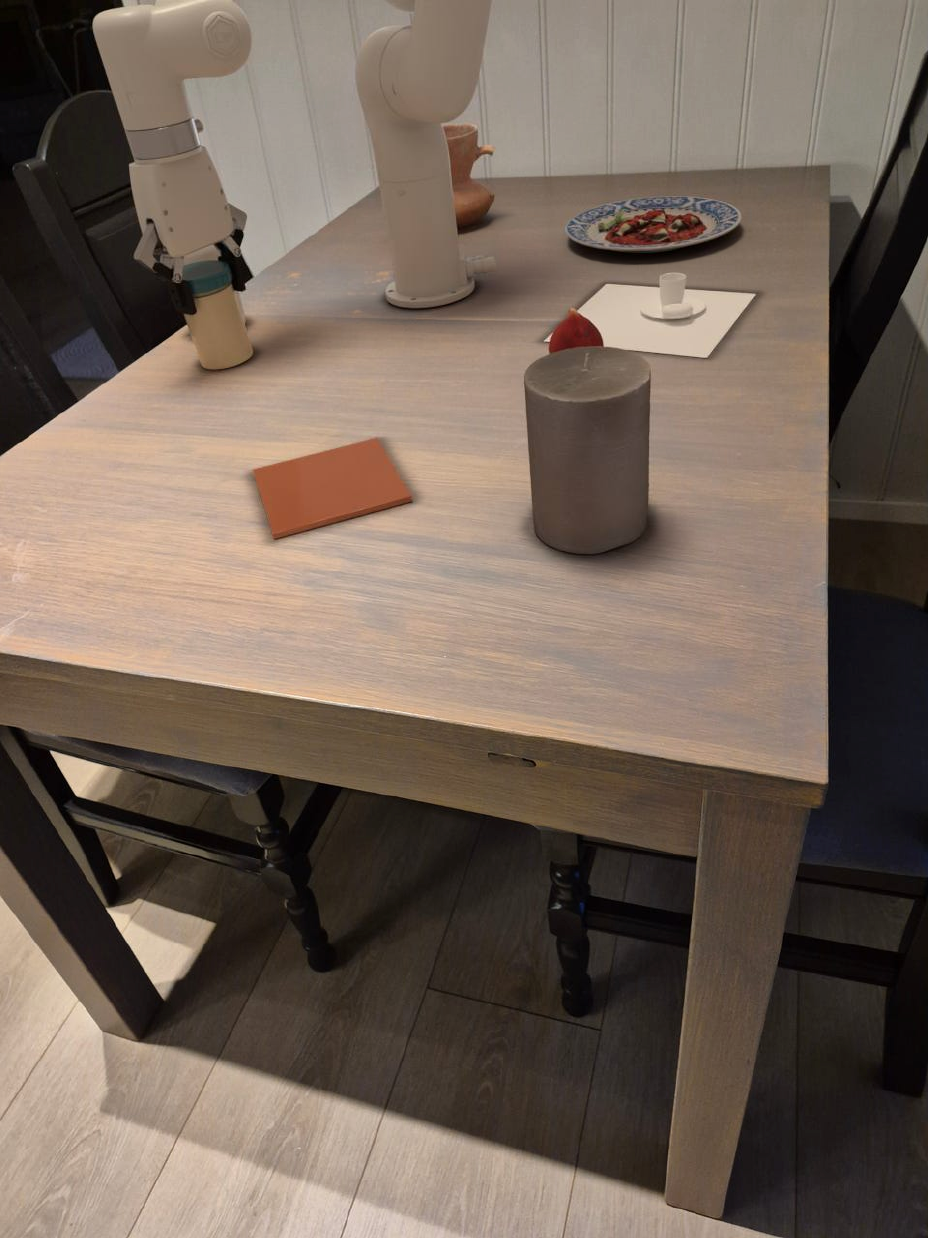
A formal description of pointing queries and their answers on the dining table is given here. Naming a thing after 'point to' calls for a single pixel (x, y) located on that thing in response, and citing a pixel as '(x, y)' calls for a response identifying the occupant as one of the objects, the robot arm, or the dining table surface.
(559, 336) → the onion
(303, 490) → the tile
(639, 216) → the ceramic plate
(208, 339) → the jar
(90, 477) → the dining table surface
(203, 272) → the lid
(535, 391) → the pillar candle
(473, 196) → the ceramic jug
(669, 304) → the teacup and saucer
